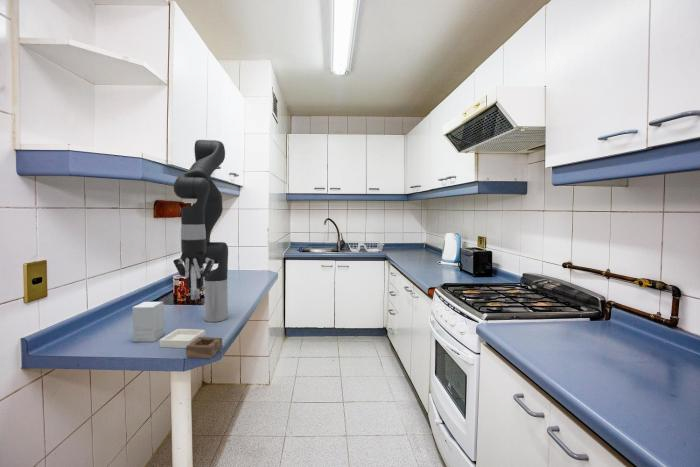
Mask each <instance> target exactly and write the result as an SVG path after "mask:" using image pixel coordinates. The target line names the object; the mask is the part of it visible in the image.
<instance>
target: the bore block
mask: <svg viewBox="0 0 700 467" xmlns="http://www.w3.org/2000/svg"><path fill="white" fill-rule="evenodd" d="M222 349H223V337H209V336H208V337H207V336H205V337H199V338H197V339H196V340H195V341H193V342H192V343H190V344H189V345H188V346H186V348H185V351H186V352H185V353H186V356H185V357H186V358H189V359H190V358H192V359H193V358H194V359H213V357H214V356H216V354H218V352H219V351H221V350H222Z"/></svg>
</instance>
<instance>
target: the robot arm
mask: <svg viewBox="0 0 700 467" xmlns="http://www.w3.org/2000/svg"><path fill="white" fill-rule="evenodd" d="M193 149H194V151H193V152H194V159H195V160H194V163H193V164H192V165H191V166H190V168H189V169H188V170H187V171H186V172H184V173H182V174H180V175H179V176H178V177H177V178H176V180H175V181H174V183H173V192H174V194H175V195H176V196H177V198H180V199H182V200H183V199H186V200H191V199H192V200H196V201H195V203H193V204H191V205H186V206H183V207H181V210H180V215H181V216H180V218H181V219H180V220H181V221H180V222H181V227H180V247H181V248H180V250H181V251H180V252H181V255H180V257H179V258H176V259H173V260H172V262H173V264H174V265H175V266H174V267H175V268H176V270H177V272H178V274H179V276H180V277H184V278H185V284H186V285H185V286H186V288H187V289H188V290H191V281H190V264H194V266H195V271H196V273H197V289H199V290H201V289H202V288H204V292H203V293H204V294H203V295H204V321H206V322H209V323H212V322H215V323H217V322H221V321H225V320H227V319H228V317H229V307H228V306H229V305H228V304H229V303H228V296H229V295H228V292H229V291H228V289H229V288H228V270H229V269H228V268H229V267H228V264H229V246H228V244H227V243H226V242H224V241H216V242H215V241H213V242H212V241H211V234H212V232H213V229H214V227H215V225H216V224H217V222H218V221H219V219H220V218H221V216H222V213H223V209H224V208H223V195H222V193H221V191H220V189H218V187H217V185H216V184H215V183H214V181H213V180H212V178H211V176H212V174H213V173H214V172H215V170H217V169H218V168H219V167H220V166H221V165H222V164H223V162H224V160H225V158H226V150H225V145H224V143H223V142H222V141H220V140H213V139H211V140H210V139H207V140H206V139H196V141H195V142H194V148H193ZM204 264H205V267H204ZM215 264H216V265H217V268H215V269H213V266H214V265H215ZM184 265H185V266H184ZM212 269H213V270H212Z"/></svg>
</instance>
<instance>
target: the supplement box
mask: <svg viewBox="0 0 700 467" xmlns="http://www.w3.org/2000/svg"><path fill="white" fill-rule="evenodd" d="M164 307H165V306H164V301H143V302H141V303H139V304H137V305H134V306H132V308H131V309H132V311H131V312H132V327H133V328H132V331H133V343H134V342H135V343H137V342H138V343H141V342H142V343H143V342H147V343H148V342H150V343H151V342H152V343H153V342H156V341H157V340H160V339H161V338H162V337H163V336H164V335H165V313H164V312H165V310H164Z"/></svg>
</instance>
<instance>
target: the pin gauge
mask: <svg viewBox="0 0 700 467" xmlns="http://www.w3.org/2000/svg"><path fill="white" fill-rule="evenodd" d="M190 281H191V289H190V300H192V301H194V300H195V301H196V300H199V299H200V289H197V273H196V271H195V266H194V264H190Z"/></svg>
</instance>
